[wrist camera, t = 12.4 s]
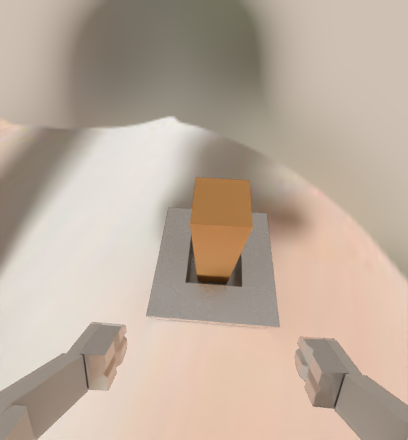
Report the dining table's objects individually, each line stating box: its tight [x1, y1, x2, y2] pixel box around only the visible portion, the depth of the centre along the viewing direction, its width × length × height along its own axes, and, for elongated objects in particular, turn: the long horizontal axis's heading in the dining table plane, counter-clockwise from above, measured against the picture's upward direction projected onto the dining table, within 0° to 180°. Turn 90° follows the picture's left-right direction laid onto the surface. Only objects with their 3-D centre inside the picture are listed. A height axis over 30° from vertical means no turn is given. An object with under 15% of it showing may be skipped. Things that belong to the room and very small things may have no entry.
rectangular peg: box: [190, 177, 253, 284], centre depth 17 cm, size 4×4×14 cm
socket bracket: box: [146, 208, 280, 328], centre depth 22 cm, size 12×12×5 cm
